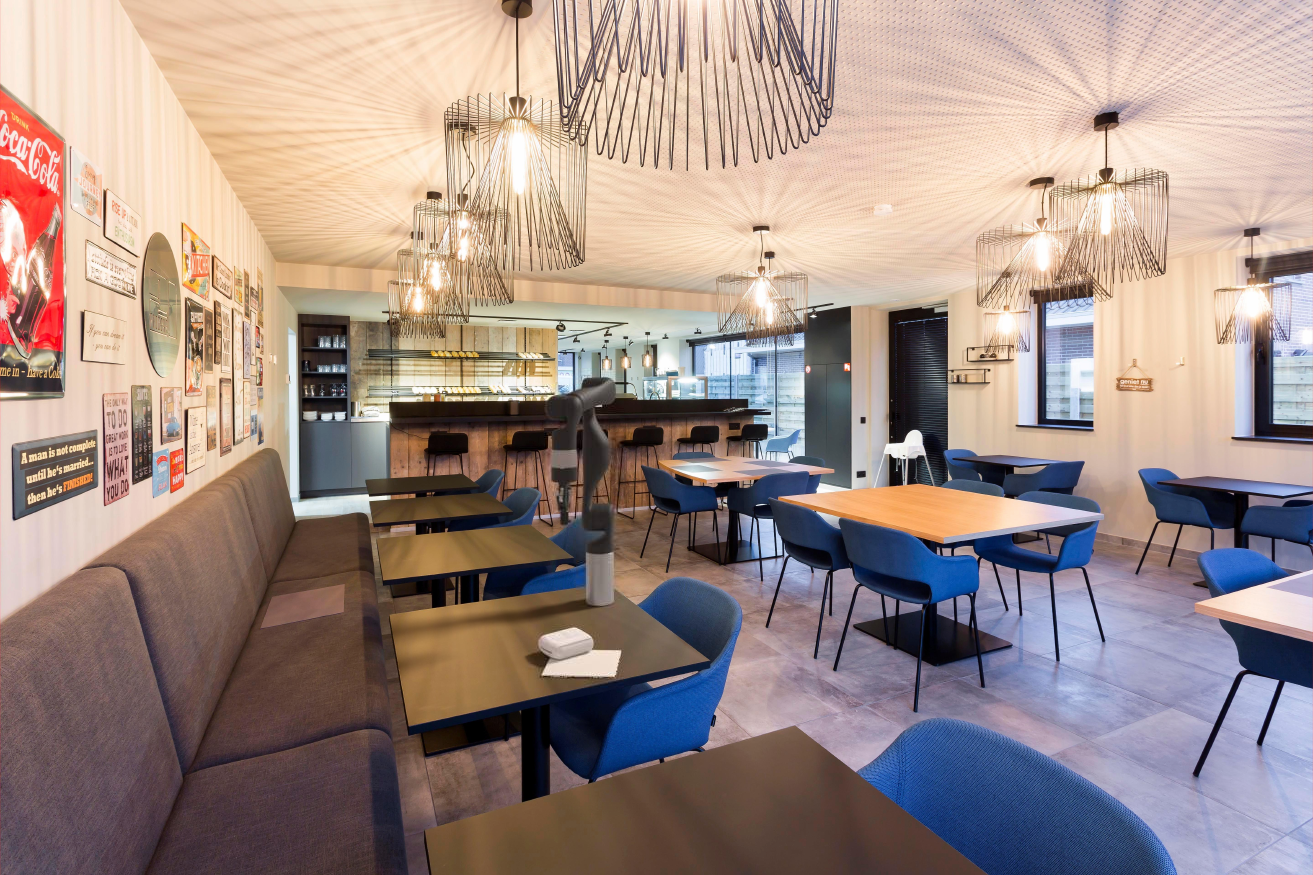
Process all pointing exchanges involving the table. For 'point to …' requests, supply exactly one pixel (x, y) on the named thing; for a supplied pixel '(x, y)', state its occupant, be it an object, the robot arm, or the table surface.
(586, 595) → the robot arm
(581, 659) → the mat
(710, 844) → the table surface
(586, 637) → the photo printer
